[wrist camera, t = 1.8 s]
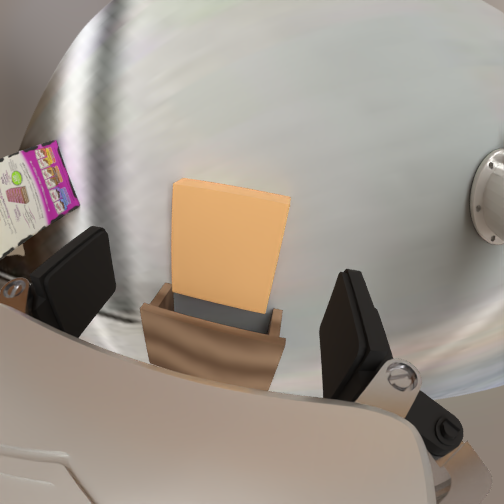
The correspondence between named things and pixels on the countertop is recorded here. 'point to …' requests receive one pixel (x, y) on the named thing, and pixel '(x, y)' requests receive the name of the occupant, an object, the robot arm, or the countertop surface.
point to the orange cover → (226, 242)
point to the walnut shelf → (210, 345)
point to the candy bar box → (32, 194)
